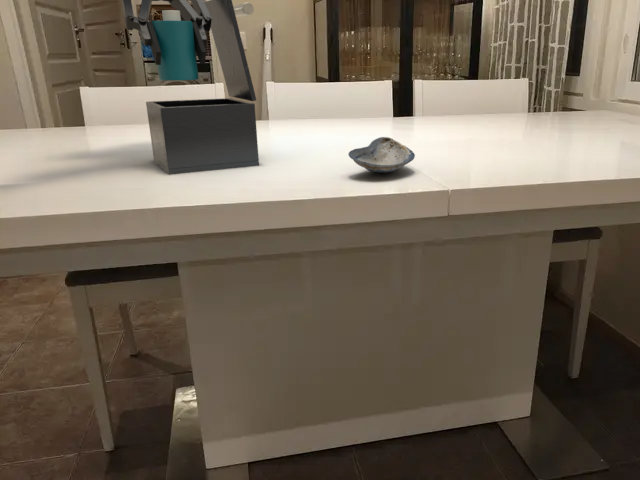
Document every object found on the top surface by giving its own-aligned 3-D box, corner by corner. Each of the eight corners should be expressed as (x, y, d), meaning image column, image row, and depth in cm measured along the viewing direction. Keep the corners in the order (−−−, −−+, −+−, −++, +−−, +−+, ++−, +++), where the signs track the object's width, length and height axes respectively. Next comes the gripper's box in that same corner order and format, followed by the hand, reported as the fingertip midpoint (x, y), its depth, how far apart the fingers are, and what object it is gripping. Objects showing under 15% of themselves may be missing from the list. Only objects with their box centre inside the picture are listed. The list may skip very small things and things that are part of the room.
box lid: (225, -5, 90) (257, -10, 92) (203, 2, 101) (232, -3, 103) (252, 101, 98) (281, 94, 100) (229, 96, 109) (255, 89, 111)
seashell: (332, 166, 101) (332, 138, 99) (397, 162, 105) (397, 135, 103) (356, 184, 88) (356, 152, 86) (429, 179, 91) (431, 148, 89)
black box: (169, 175, 95) (160, 107, 91) (154, 161, 106) (145, 101, 102) (259, 166, 102) (254, 103, 98) (236, 154, 113) (231, 98, 109)
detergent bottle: (163, 80, 90) (153, 8, 86) (156, 79, 96) (146, 11, 92) (202, 79, 93) (195, 10, 89) (193, 78, 99) (186, 12, 95)
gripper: (202, -21, 105) (236, 73, 98) (90, -27, 96) (118, 76, 89) (206, -58, 99) (242, 40, 92) (86, -68, 90) (116, 40, 83)
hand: (181, 58), depth 90 cm, fingers closed on detergent bottle, 6 cm apart
